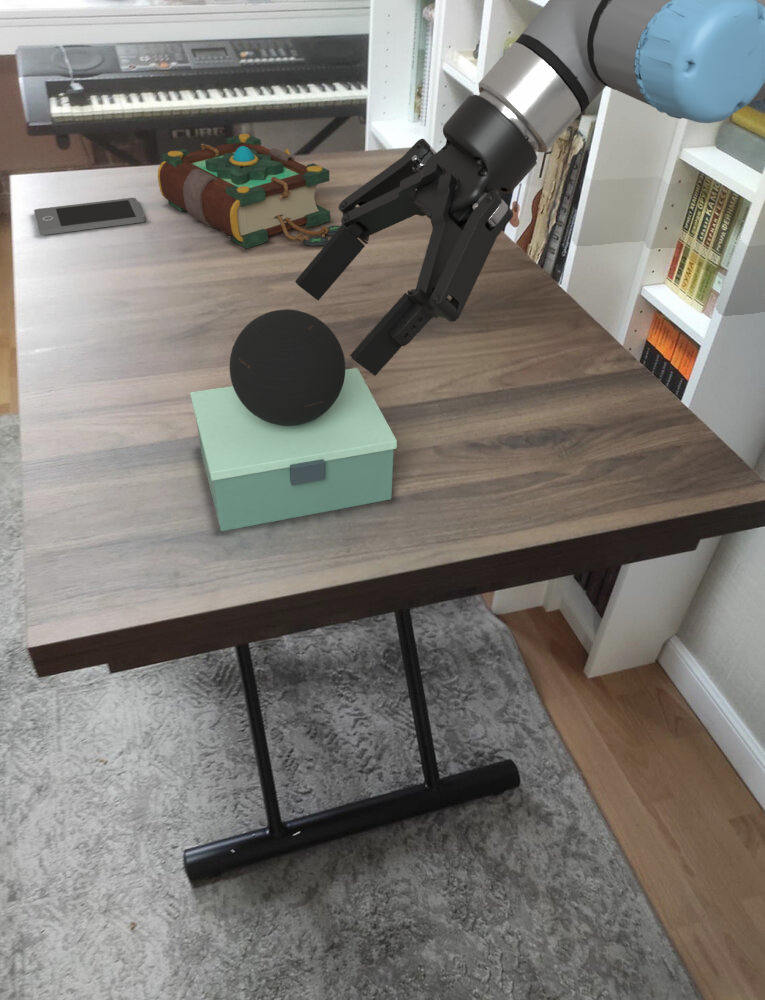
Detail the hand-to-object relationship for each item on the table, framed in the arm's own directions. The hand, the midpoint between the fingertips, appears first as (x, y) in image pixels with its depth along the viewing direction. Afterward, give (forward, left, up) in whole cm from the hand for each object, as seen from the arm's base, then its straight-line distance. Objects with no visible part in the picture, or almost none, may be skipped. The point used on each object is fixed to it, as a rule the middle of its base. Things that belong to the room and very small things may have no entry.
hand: (332, 326), depth 71 cm
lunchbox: (+2, +3, -15) cm, 16 cm away
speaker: (+2, +3, -9) cm, 10 cm away
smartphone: (+66, -22, -15) cm, 71 cm away
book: (+46, -39, -16) cm, 63 cm away
